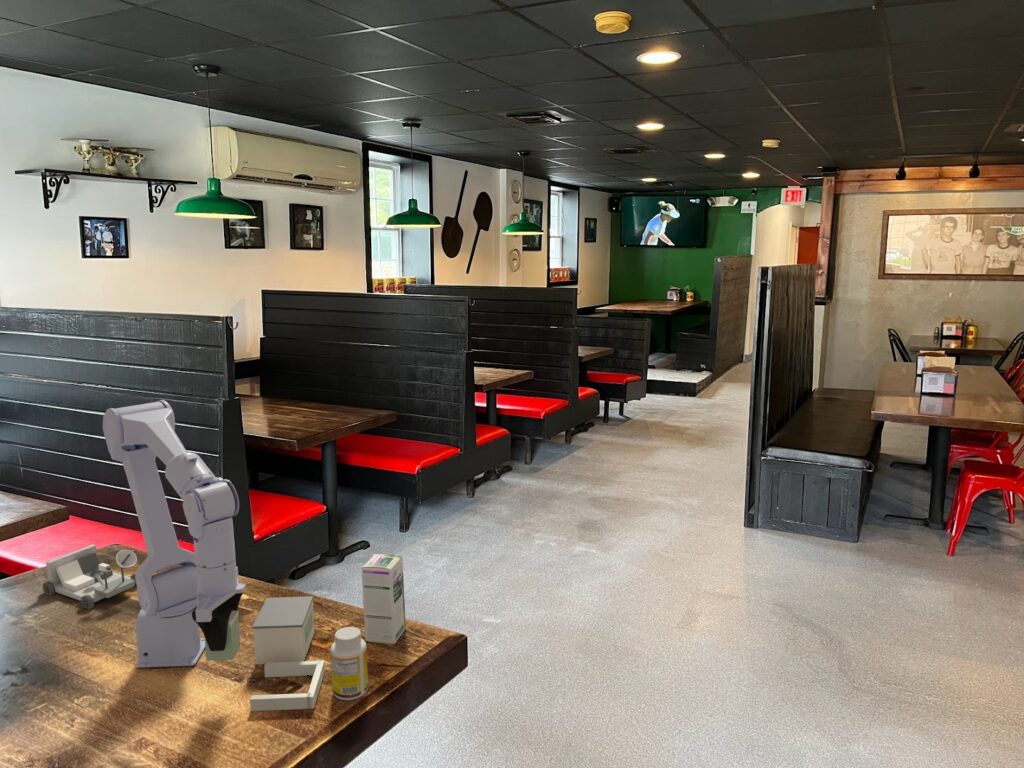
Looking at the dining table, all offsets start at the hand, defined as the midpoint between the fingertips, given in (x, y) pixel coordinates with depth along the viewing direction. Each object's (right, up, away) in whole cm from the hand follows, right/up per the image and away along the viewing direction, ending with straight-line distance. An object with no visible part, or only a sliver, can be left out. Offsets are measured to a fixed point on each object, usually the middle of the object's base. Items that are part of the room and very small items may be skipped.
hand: (222, 641), depth 118 cm
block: (0, -2, 0) cm, 2 cm away
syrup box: (+22, -6, +19) cm, 30 cm away
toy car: (-39, -3, +36) cm, 53 cm away
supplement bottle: (+19, -9, +2) cm, 22 cm away
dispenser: (+5, -6, +15) cm, 17 cm away
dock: (+9, -9, +2) cm, 13 cm away
